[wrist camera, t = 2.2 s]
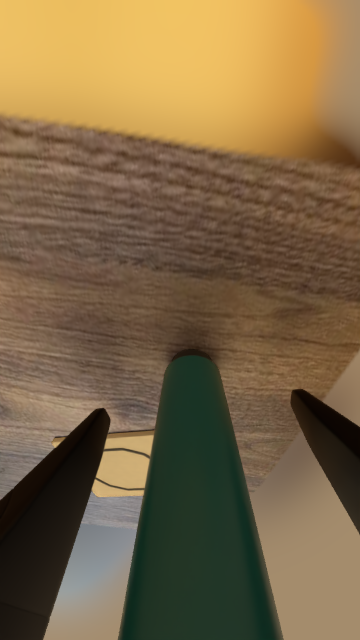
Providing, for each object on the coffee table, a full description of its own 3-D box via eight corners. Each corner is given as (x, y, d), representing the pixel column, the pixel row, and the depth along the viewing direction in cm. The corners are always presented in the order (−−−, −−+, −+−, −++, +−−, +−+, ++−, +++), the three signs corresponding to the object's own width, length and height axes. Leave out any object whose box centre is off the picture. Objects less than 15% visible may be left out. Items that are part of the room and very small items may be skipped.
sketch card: (187, 489, 18) (187, 495, 17) (98, 492, 19) (96, 497, 18) (166, 429, 13) (165, 435, 13) (54, 437, 15) (50, 443, 14)
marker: (220, 381, 11) (290, 699, 3) (172, 387, 12) (140, 684, 4) (214, 340, 10) (311, 708, 2) (161, 348, 10) (78, 683, 2)
